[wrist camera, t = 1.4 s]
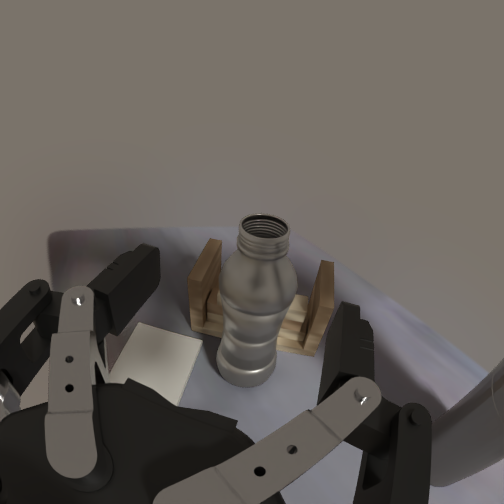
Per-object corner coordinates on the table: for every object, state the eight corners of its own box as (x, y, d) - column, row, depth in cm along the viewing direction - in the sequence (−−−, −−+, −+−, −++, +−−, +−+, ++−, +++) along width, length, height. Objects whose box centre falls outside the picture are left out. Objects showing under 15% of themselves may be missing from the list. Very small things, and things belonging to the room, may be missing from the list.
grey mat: (202, 343, 36) (202, 340, 36) (175, 411, 28) (175, 409, 28) (139, 324, 37) (138, 322, 37) (106, 384, 29) (104, 382, 29)
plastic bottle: (221, 345, 36) (226, 199, 24) (274, 352, 36) (308, 210, 24) (211, 389, 31) (208, 245, 19) (271, 397, 31) (313, 259, 19)
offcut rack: (317, 311, 42) (333, 262, 37) (313, 356, 36) (334, 308, 30) (209, 289, 44) (209, 238, 39) (191, 330, 38) (187, 278, 32)
